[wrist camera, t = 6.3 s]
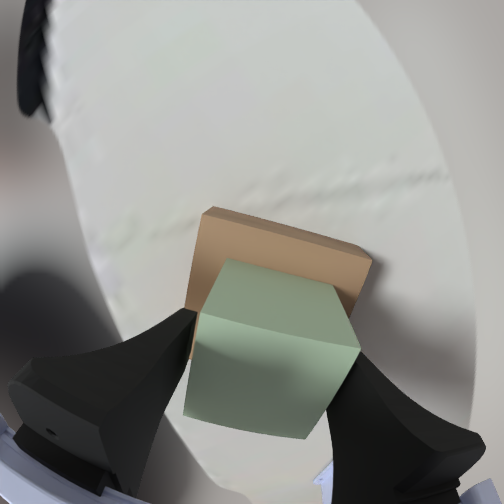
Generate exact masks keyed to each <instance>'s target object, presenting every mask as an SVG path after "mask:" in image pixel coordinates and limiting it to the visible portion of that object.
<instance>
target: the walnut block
mask: <svg viewBox="0 0 504 504" xmlns="http://www.w3.org/2000/svg"><path fill="white" fill-rule="evenodd" d="M227 258H230V259H233V260H237V261H241V262H245V263H249V264H252V265H256V266H260V267H264V268H268V269H272V270H276V271H280V272H283V273H287V274H291V275H295V276H299V277H303V278H307V279H311V280H315V281H319V282H323V283H327V284H331V285H333V287H334V289H335V291H336V293H337V295H338V297H339V299H340V302H341V304H342V306H343V308H344V310H345V313H346V315H347V317H348V319H349V317H350V315H351V312H352V310H353V308H354V305H355V303H356V301H357V298H358V296H359V294H360V291H361V289H362V286H363V284H364V281H365V279H366V276H367V274H368V271H369V269H370V266H371V263H372V261H373V260H372V259H371V258H370V257H369V256H368V255H367V254H366V253H365V252H364V251H363V250H362V249H361V248H360V247H359V246H357V245H354V244H350V243H347V242H344V241H340V240H337V239H333V238H330V237H327V236H323V235H320V234H316V233H312V232H309V231H305V230H302V229H298V228H295V227H291V226H287V225H284V224H280V223H276V222H273V221H269V220H265V219H261V218H257V217H254V216H250V215H246V214H242V213H238V212H234V211H230V210H226V209H222V208H218V207H214V206H213V207H211V208H210V209H209V210H207V211H206V212H204V213H203V214H202V216H201V221H200V226H199V231H198V236H197V241H196V246H195V251H194V256H193V261H192V267H191V272H190V278H189V284H188V289H187V295H186V301H185V307H184V308H186V309H189V310H193V311H196V312H198V314H197V319H196V325H195V331H194V337H193V343H192V349H191V353H190V356H189V359H191V360H192V355H193V349H194V344H195V338H196V333H197V327H198V322H199V316H200V312H201V310H202V308H203V306H204V304H205V302H206V299H207V297H208V295H209V293H210V291H211V289H212V287H213V285H214V283H215V281H216V279H217V277H218V275H219V273H220V271H221V269H222V267H223V265H224V263H225V261H226V259H227Z"/></svg>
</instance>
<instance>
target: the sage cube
mask: <svg viewBox="0 0 504 504" xmlns="http://www.w3.org/2000/svg"><path fill="white" fill-rule="evenodd" d="M360 350H361V347H360V344H359V342H358V340H357V337H356V335H355V333H354V330H353V328H352V326H351V324H350V321H349V319H348V317H347V315H346V313H345V310H344V308H343V306H342V304H341V302H340V299H339V297H338V295H337V293H336V291H335V289H334V287H333V285H331V284H327V283H323V282H319V281H315V280H311V279H307V278H303V277H299V276H295V275H291V274H287V273H283V272H280V271H276V270H272V269H268V268H264V267H260V266H256V265H252V264H249V263H245V262H241V261H237V260H233V259H230V258H227V259H226V261H225V263H224V265H223V267H222V269H221V271H220V273H219V275H218V277H217V279H216V281H215V283H214V285H213V287H212V289H211V291H210V293H209V295H208V297H207V299H206V302H205V304H204V306H203V308H202V310H201V312H200V316H199V322H198V327H197V333H196V338H195V344H194V349H193V355H192V361H191V367H190V373H189V379H188V385H187V391H186V398H185V404H184V411H183V415H184V416H187V417H191V418H194V419H198V420H201V421H205V422H209V423H213V424H217V425H221V426H225V427H230V428H235V429H239V430H244V431H250V432H255V433H261V434H267V435H273V436H280V437H288V438H296V439H306V438H307V436H308V435H309V434H310V432H311V431H312V429H313V428H314V426H315V425H316V424H317V422H318V421H319V419H320V418H321V416H322V415H323V413H324V412H325V410H326V408H327V407H328V405H329V404H330V402H331V401H332V399H333V397H334V396H335V394H336V393H337V391H338V389H339V388H340V386H341V384H342V383H343V381H344V379H345V377H346V376H347V374H348V372H349V370H350V369H351V367H352V365H353V363H354V361H355V360H356V358H357V356H358V354H359V352H360Z"/></svg>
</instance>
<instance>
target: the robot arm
mask: <svg viewBox="0 0 504 504" xmlns="http://www.w3.org/2000/svg"><path fill="white" fill-rule="evenodd" d="M197 314H198V312H196V311H193V310H189V309H186V308H182V309H180V310H178V311H177V312H175V313H174V314H172V315H171V316H169V317H168V318H166V319H165V320H163V321H162V322H160V323H159V324H157V325H155V326H154V327H152V328H150V329H149V330H147V331H145V332H143V333H141V334H139V335H137V336H135V337H133V338H131V339H129V340H127V341H124V342H121V343H119V344H116V345H114V346H110V347H107V348H103V349H100V350H96V351H92V352H88V353H83V354H77V355H71V356H62V357H44V358H32V359H31V360H30V361H29V362H28V363H27V364H26V365H25V366H24V367H23V368H22V369H21V370H20V371H19V372H18V373H17V374H16V375H15V376H14V377H13V378H12V379H11V380H10V381H9V383H8V391H9V395H10V398H11V400H12V402H13V404H14V406H15V408H16V410H17V412H18V414H19V416H20V417H21V419H22V421H23V424H22V426H21V427H20V428H19V430H18V431H17V432H15V431H13V430H12V429H11V428H10V427H8V425H7V423H6V421H5V419H4V418H3V416H2V415H1V413H0V495H1V496H2V497H3V498H4V499H5V500H6V501H7V502H9V503H10V504H150V503H147V502H144V501H141V500H138V499H136V497H137V493H138V489H139V486H140V482H141V478H142V475H143V471H144V469H145V465H146V462H147V459H148V456H149V452H150V449H151V446H152V443H153V440H154V437H155V434H156V432H157V429H158V426H159V423H160V420H161V418H162V416H163V413H164V411H165V409H166V407H167V405H168V403H169V401H170V399H171V397H172V395H173V393H174V391H175V389H176V387H177V385H178V383H179V381H180V379H181V377H182V375H183V373H184V371H185V368H186V365H187V362H188V359H189V356H190V353H191V349H192V343H193V337H194V331H195V325H196V319H197ZM326 412H327V418H328V423H329V429H330V434H331V440H332V448H333V461H332V462H331V463H330V464H329V465H328V466H327V467H326V468H325V469H324V470H323V471H322V472H321V473H320V474H319V475H318V476H317V477H316V478H315V479H314V480H313V484H321V489H322V501H323V504H502V503H501V501H500V498H499V496H498V494H497V491H496V489H495V487H494V484H493V482H492V480H491V479H490V478H489V479H487V480H485V481H483V482H480V483H478V484H476V485H474V486H473V487H471V488H470V489H468V490H467V491H466V492H464V493H463V494H462V495H461V496H460V497H459V495H458V492H457V490H456V488H457V487H459V486H460V481H459V479H458V478H459V477H460V476H462V475H463V474H464V473H465V472H466V471H467V470H469V469H470V468H471V467H472V466H473V465H474V464H475V463H476V462H477V461H478V460H479V459H480V458H481V457H482V455H483V454H484V452H485V450H486V446H485V444H484V442H483V440H482V438H481V436H480V435H479V434H478V433H475V432H472V431H469V430H467V429H464V428H461V427H458V426H456V425H454V424H452V423H449V422H447V421H445V420H443V419H441V418H439V417H437V416H436V415H434V414H432V413H431V412H429V411H427V410H426V409H424V408H423V407H421V406H420V405H418V404H417V403H416V402H414V401H413V400H412V399H410V398H409V397H408V396H406V395H405V394H404V393H403V392H402V391H401V390H399V389H398V388H397V387H396V386H395V385H394V384H393V383H392V382H391V381H390V380H389V379H388V378H386V377H385V376H384V375H383V374H382V373H381V372H380V371H379V370H378V368H377V367H376V366H375V365H374V364H373V363H372V362H371V361H370V360H369V359H368V358H367V357H366V356H365V355H364V354H363V353H362V352H361V351H360V352H359V354H358V356H357V358H356V360H355V361H354V363H353V365H352V367H351V369H350V370H349V372H348V374H347V376H346V377H345V379H344V381H343V383H342V384H341V386H340V388H339V389H338V391H337V393H336V394H335V396H334V397H333V399H332V401H331V402H330V404H329V405H328V407H327V408H326Z"/></svg>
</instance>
